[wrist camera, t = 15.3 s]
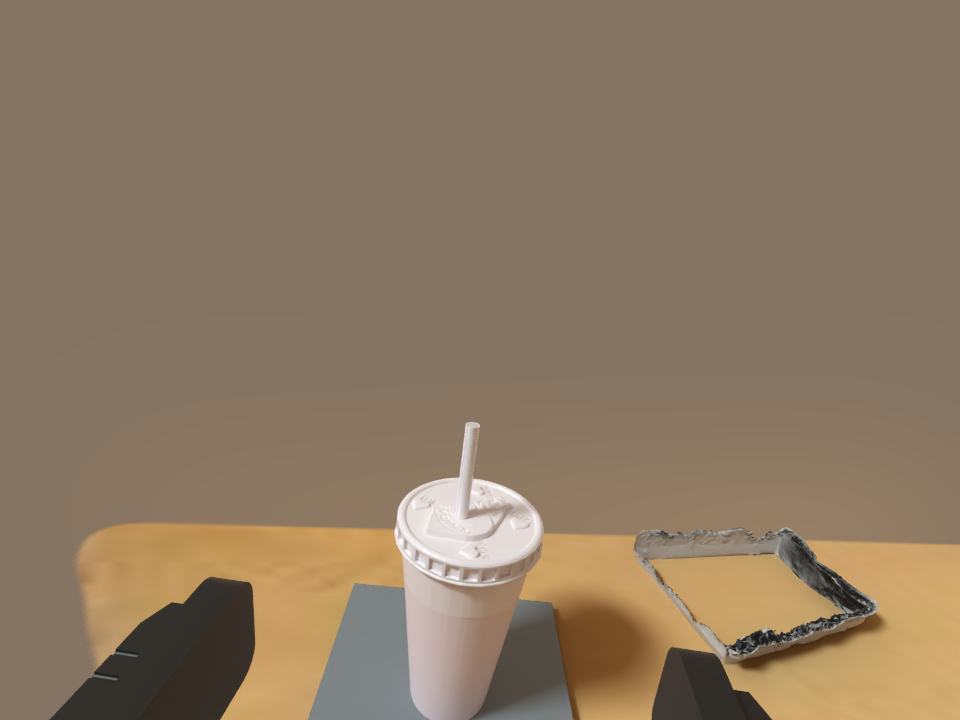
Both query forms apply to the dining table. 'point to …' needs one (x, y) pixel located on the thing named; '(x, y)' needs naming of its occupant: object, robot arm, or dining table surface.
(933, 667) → the dining table surface
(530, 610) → the mat
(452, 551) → the smoothie
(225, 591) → the robot arm
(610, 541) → the dining table surface
